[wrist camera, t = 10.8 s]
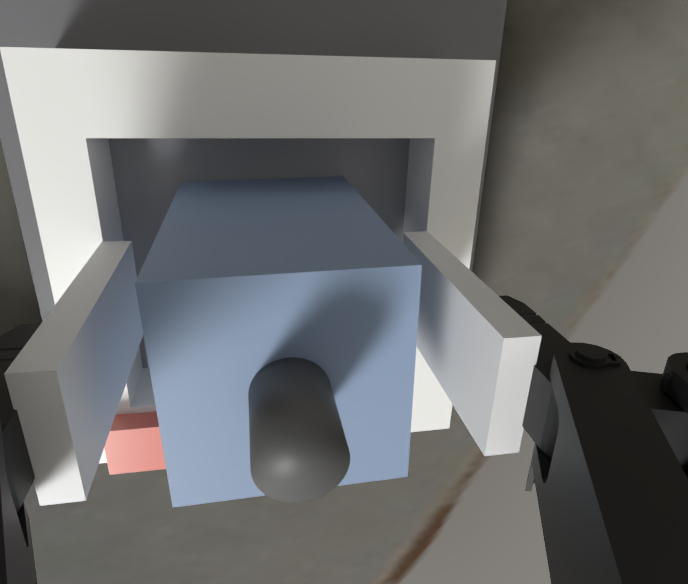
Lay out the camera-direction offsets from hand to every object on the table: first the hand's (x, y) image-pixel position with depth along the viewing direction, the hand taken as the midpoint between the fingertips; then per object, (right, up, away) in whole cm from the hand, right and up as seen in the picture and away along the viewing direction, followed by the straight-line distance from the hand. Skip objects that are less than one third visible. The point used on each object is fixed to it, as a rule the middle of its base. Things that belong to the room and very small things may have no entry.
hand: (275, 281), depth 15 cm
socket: (-1, +4, +3) cm, 5 cm away
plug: (-1, +1, +2) cm, 2 cm away
